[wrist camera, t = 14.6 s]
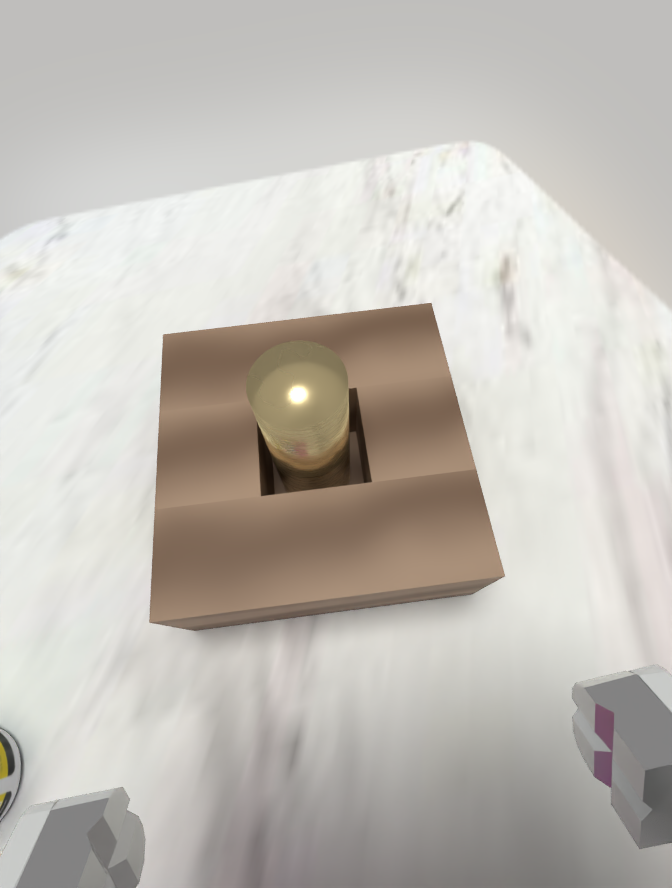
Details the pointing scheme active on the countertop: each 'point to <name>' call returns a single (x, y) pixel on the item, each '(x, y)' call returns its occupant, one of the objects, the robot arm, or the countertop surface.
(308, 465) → the pin
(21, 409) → the countertop surface
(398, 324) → the hole block
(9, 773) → the supplement bottle
